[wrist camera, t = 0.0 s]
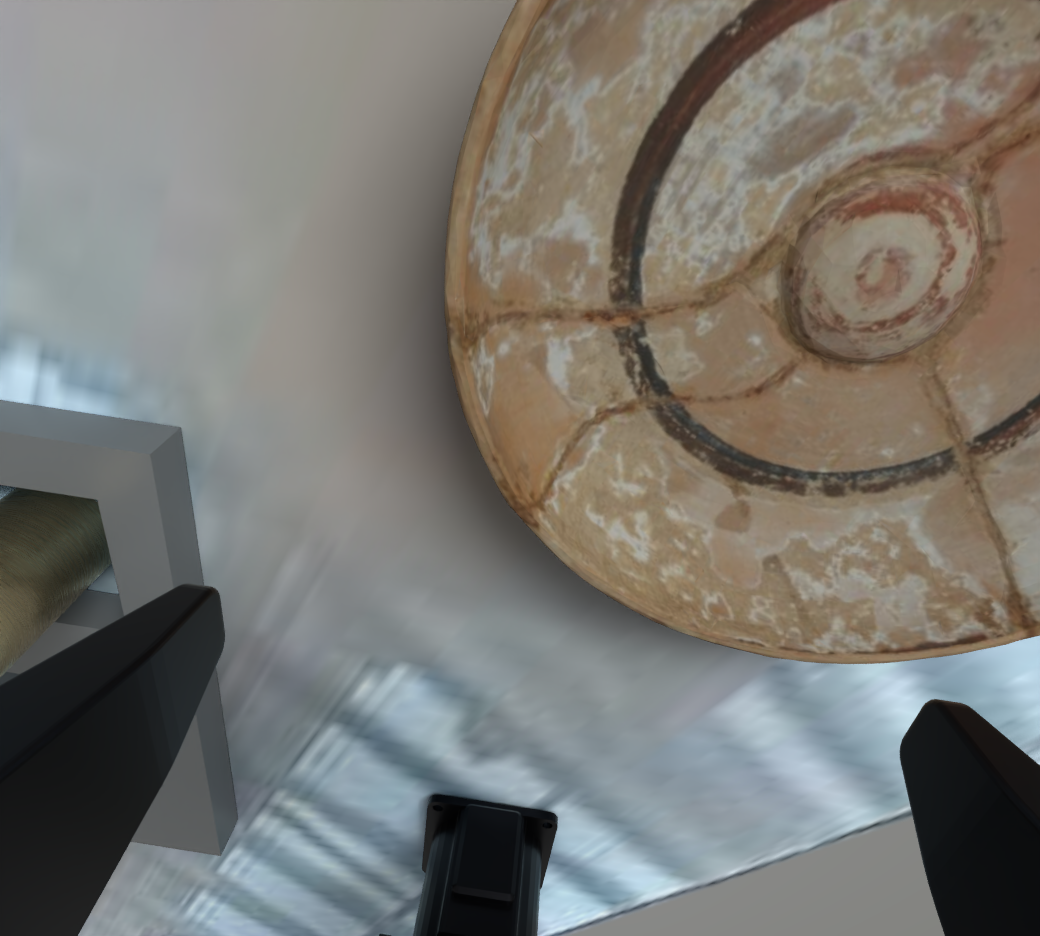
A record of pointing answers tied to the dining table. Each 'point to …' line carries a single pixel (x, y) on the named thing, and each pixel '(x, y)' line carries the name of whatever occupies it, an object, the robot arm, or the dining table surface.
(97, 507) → the cylinder
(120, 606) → the frame
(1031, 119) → the ceramic bowl
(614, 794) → the dining table surface
